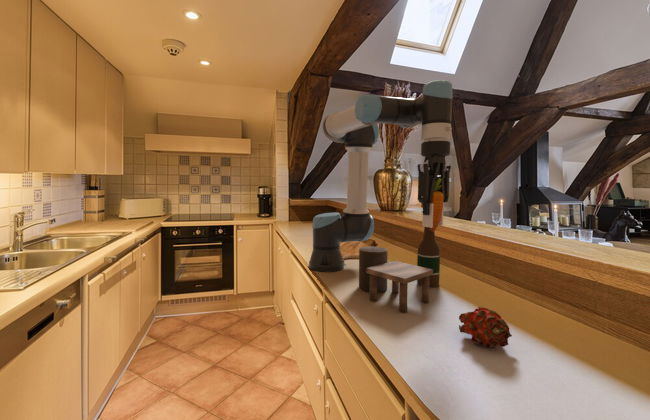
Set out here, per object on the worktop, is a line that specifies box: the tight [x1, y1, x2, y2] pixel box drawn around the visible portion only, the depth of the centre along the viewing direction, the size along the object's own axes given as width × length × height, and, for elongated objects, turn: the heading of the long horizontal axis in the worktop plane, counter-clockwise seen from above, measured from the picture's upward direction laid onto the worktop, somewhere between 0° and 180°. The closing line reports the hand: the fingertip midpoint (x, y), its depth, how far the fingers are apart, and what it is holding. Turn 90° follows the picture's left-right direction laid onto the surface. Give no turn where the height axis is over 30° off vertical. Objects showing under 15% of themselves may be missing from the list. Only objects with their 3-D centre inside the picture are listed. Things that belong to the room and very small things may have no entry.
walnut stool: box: [366, 260, 433, 314], centre depth 92 cm, size 14×14×10 cm
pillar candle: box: [358, 245, 389, 294], centre depth 104 cm, size 10×10×15 cm
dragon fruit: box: [458, 306, 513, 349], centre depth 67 cm, size 8×8×12 cm
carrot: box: [429, 178, 444, 232], centre depth 84 cm, size 5×5×15 cm
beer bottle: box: [416, 227, 441, 289], centre depth 107 cm, size 8×8×24 cm
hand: (432, 225), depth 85 cm, fingers closed on carrot, 5 cm apart
